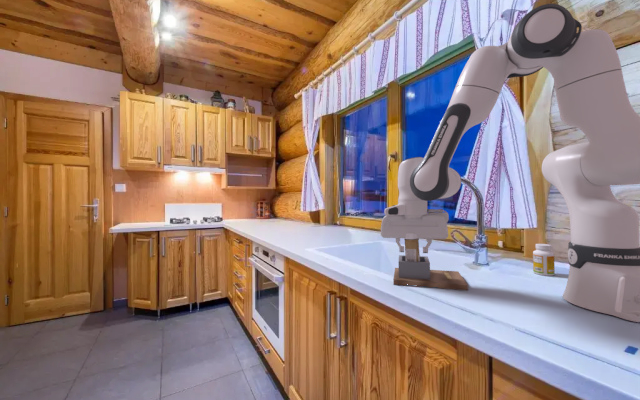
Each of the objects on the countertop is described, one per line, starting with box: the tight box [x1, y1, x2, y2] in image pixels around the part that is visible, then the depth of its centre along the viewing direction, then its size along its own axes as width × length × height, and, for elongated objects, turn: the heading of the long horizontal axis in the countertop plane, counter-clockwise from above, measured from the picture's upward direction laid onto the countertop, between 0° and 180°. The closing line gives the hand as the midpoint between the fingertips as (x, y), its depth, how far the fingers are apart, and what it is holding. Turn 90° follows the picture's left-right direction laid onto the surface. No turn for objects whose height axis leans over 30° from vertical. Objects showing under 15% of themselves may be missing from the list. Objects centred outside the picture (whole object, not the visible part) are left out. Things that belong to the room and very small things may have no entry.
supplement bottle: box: [532, 243, 555, 277], centre depth 88 cm, size 5×5×10 cm
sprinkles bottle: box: [403, 233, 421, 262], centre depth 85 cm, size 5×5×14 cm
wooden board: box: [393, 267, 469, 291], centre depth 84 cm, size 20×14×2 cm
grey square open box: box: [398, 254, 431, 280], centre depth 85 cm, size 9×9×5 cm
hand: (413, 252), depth 85 cm, fingers open, 6 cm apart
